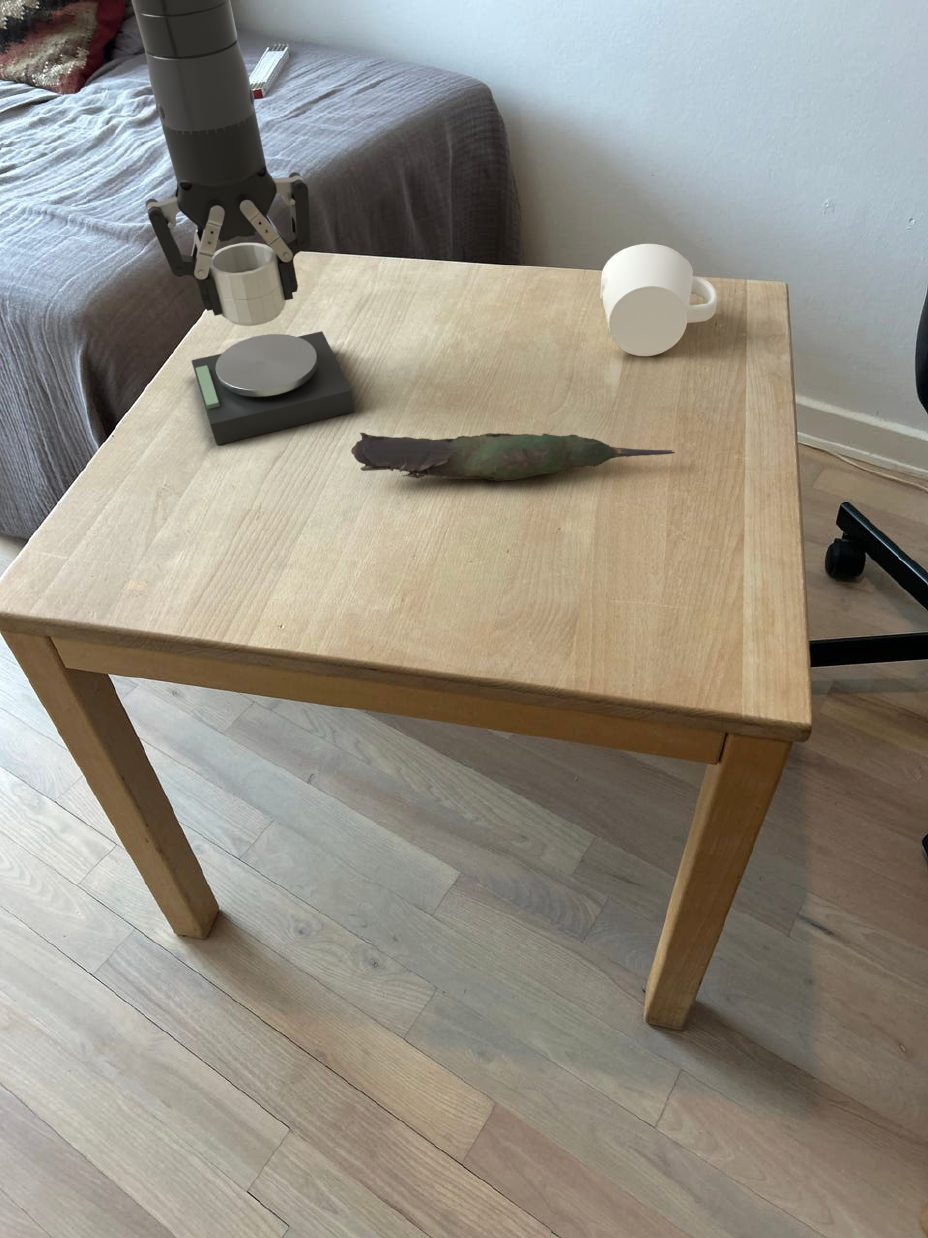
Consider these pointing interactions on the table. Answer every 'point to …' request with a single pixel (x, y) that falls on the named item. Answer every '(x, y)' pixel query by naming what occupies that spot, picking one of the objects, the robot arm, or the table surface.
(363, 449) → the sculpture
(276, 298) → the white cup
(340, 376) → the scale
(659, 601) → the table surface
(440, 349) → the table surface
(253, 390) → the pan
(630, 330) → the mug
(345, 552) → the table surface
